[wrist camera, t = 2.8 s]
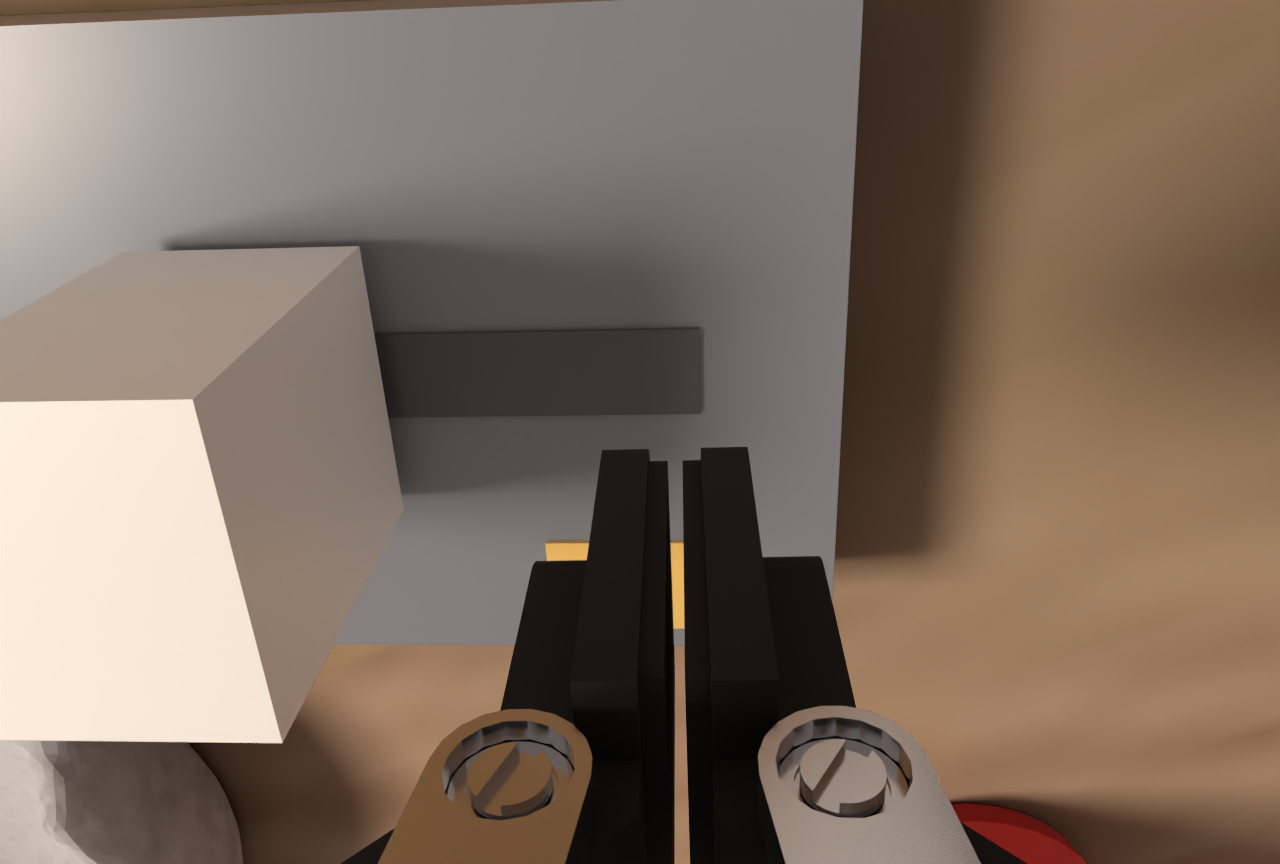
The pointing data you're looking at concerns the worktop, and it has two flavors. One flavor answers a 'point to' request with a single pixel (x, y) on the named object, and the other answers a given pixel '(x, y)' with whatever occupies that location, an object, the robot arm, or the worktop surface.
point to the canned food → (1018, 834)
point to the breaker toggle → (187, 492)
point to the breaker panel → (489, 241)
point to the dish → (112, 805)
